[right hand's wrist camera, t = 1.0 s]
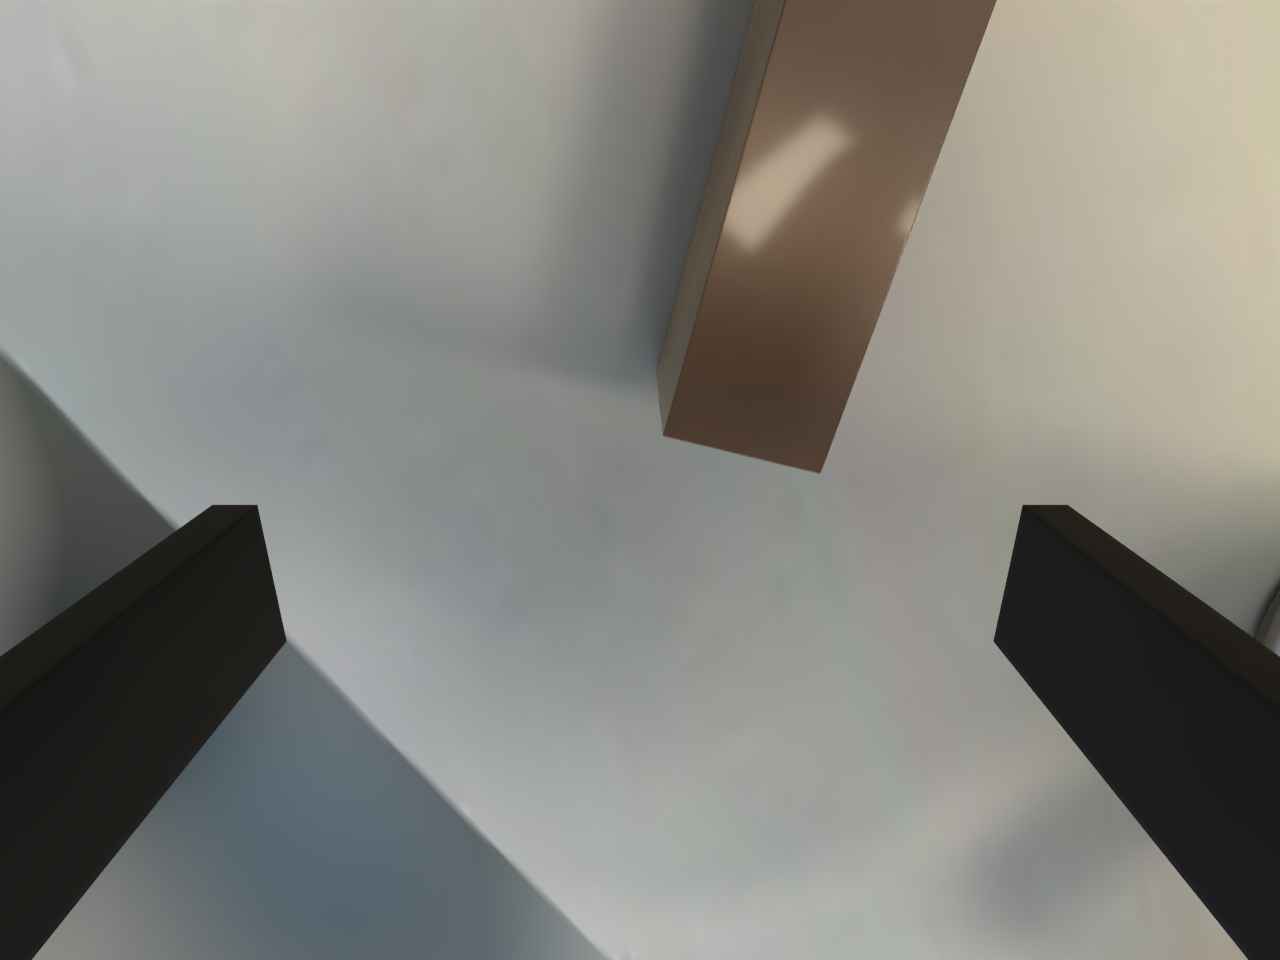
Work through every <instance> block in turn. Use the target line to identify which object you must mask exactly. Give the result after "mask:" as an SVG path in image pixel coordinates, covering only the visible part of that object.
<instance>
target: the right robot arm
mask: <svg viewBox="0 0 1280 960" xmlns="http://www.w3.org/2000/svg"><path fill="white" fill-rule="evenodd" d="M285 642H286V637H285V632H284V628H283V623H282V618H281V614H280V609H279V604H278V600H277V595H276V590H275V586H274V581H273V576H272V572H271V567H270V562H269V558H268V553H267V548H266V544H265V539H264V534H263V530H262V525H261V520H260V516H259V511H258V506H257V505H212V506H210V507H209V508H208V509H206V510H205V511H203V512H202V513H201V514H199V515H198V516H196V517H195V518H194V519H192V520H191V521H189V522H188V523H187V524H185V525H184V526H182V527H181V528H180V529H178V530H177V531H175V532H174V533H173V534H171V535H170V536H168V537H167V538H166V539H164V540H163V541H161V542H160V543H159V544H157V545H156V546H154V547H153V548H152V549H150V550H149V551H147V552H146V553H145V554H143V555H142V556H140V557H139V558H138V559H136V560H135V561H133V562H132V563H131V564H129V565H128V566H127V567H125V568H124V569H122V570H121V571H119V572H118V573H117V574H115V575H114V576H113V577H111V578H110V579H108V580H107V581H105V582H104V583H103V584H101V585H100V586H98V587H97V588H96V589H94V590H93V591H91V592H90V593H89V594H87V595H86V596H85V597H83V598H82V599H80V600H79V601H77V602H76V603H75V604H73V605H72V606H71V607H69V608H68V609H66V610H65V611H63V612H62V613H61V614H59V615H58V616H56V617H55V618H54V619H52V620H51V621H49V622H48V623H47V624H45V625H44V626H42V627H41V628H40V629H38V630H37V631H35V632H34V633H33V634H31V635H30V636H28V637H27V638H26V639H24V640H23V641H21V642H20V643H19V644H17V645H16V646H14V647H13V648H12V649H10V650H9V651H7V652H6V653H5V654H3V655H2V656H1V657H0V960H32V959H33V957H34V956H35V955H36V953H37V952H38V951H39V950H40V949H41V947H42V946H43V945H44V944H45V942H46V941H47V940H48V939H49V937H50V936H51V935H52V934H53V932H54V931H55V930H56V929H57V927H58V926H59V925H60V924H61V922H62V921H63V920H64V919H65V917H66V916H67V915H68V914H69V912H70V911H71V910H72V909H73V907H74V906H75V905H76V904H77V902H78V901H79V900H80V899H81V897H82V896H83V895H84V893H85V892H86V891H87V890H88V889H89V887H90V886H91V885H92V884H93V882H94V881H95V880H96V879H97V877H98V876H99V875H100V874H101V872H102V871H103V870H104V868H105V867H106V866H107V865H108V864H109V862H110V861H111V860H112V858H113V857H114V856H115V855H116V854H117V852H118V851H119V850H120V849H121V847H122V846H123V845H124V844H125V842H126V841H127V840H128V839H129V837H130V836H131V835H132V834H133V832H134V831H135V830H136V829H137V827H138V826H139V825H140V824H141V822H142V821H143V820H144V819H145V817H146V816H147V815H148V814H149V812H150V811H151V810H152V809H153V807H154V806H155V805H156V804H157V802H158V801H159V800H160V799H161V797H162V796H163V795H164V794H165V792H166V791H167V790H168V789H169V787H170V786H171V785H172V784H173V782H174V781H175V780H176V779H177V777H178V776H179V775H180V774H181V772H182V771H183V770H184V769H185V767H186V766H187V765H188V764H189V762H190V761H191V760H192V759H193V757H194V756H195V755H196V754H197V752H198V751H199V750H200V749H201V747H202V746H203V745H204V744H205V742H206V741H207V740H208V739H209V737H210V736H211V735H212V734H213V732H214V731H215V730H216V729H217V727H218V726H219V725H220V724H221V722H222V721H223V720H224V719H225V717H226V716H227V715H228V714H229V712H230V711H231V710H232V709H233V707H234V706H235V705H236V704H237V702H238V701H239V700H240V699H241V697H242V696H243V695H244V694H245V692H246V691H247V690H248V689H249V687H250V686H251V685H252V684H253V682H254V681H255V680H256V679H257V677H258V676H259V675H260V674H261V672H262V671H263V670H264V669H265V667H266V666H267V665H268V664H269V662H270V661H271V660H272V659H273V657H274V656H275V655H276V654H277V652H278V651H279V650H280V649H281V647H282V646H283V645H284V644H285ZM994 642H995V644H996V645H997V646H998V647H999V649H1000V650H1001V651H1002V652H1003V654H1004V655H1005V656H1006V657H1007V659H1008V660H1009V661H1010V662H1011V664H1012V665H1013V666H1014V667H1015V669H1016V670H1017V671H1018V672H1019V674H1020V675H1021V676H1022V677H1023V679H1024V680H1025V681H1026V682H1027V684H1028V685H1029V686H1030V687H1031V689H1032V690H1033V691H1034V692H1035V694H1036V695H1037V696H1038V697H1039V699H1040V700H1041V701H1042V702H1043V704H1044V705H1045V706H1046V707H1047V709H1048V710H1049V711H1050V712H1051V714H1052V715H1053V716H1054V717H1055V719H1056V720H1057V721H1058V722H1059V724H1060V725H1061V726H1062V727H1063V729H1064V730H1065V731H1066V732H1067V734H1068V735H1069V736H1070V737H1071V739H1072V740H1073V741H1074V742H1075V744H1076V745H1077V746H1078V747H1079V749H1080V750H1081V751H1082V752H1083V754H1084V755H1085V756H1086V757H1087V759H1088V760H1089V761H1090V762H1091V764H1092V765H1093V766H1094V767H1095V769H1096V770H1097V771H1098V772H1099V774H1100V775H1101V776H1102V777H1103V779H1104V780H1105V781H1106V782H1107V784H1108V785H1109V786H1110V787H1111V789H1112V790H1113V791H1114V792H1115V794H1116V795H1117V796H1118V797H1119V799H1120V800H1121V801H1122V802H1123V804H1124V805H1125V806H1126V807H1127V809H1128V810H1129V811H1130V812H1131V814H1132V815H1133V816H1134V817H1135V819H1136V820H1137V821H1138V822H1139V824H1140V825H1141V826H1142V827H1143V829H1144V830H1145V831H1146V832H1147V834H1148V835H1149V836H1150V837H1151V839H1152V840H1153V841H1154V842H1155V844H1156V845H1157V846H1158V847H1159V849H1160V850H1161V851H1162V852H1163V854H1164V855H1165V856H1166V857H1167V859H1168V860H1169V861H1170V862H1171V864H1172V865H1173V866H1174V867H1175V869H1176V870H1177V871H1178V872H1179V874H1180V875H1181V876H1182V877H1183V879H1184V880H1185V881H1186V882H1187V884H1188V885H1189V886H1190V887H1191V889H1192V890H1193V891H1194V892H1195V894H1196V895H1197V896H1198V897H1199V899H1200V900H1201V901H1202V902H1203V904H1204V905H1205V906H1206V907H1207V909H1208V910H1209V911H1210V912H1211V914H1212V915H1213V916H1214V917H1215V919H1216V920H1217V921H1218V922H1219V924H1220V925H1221V926H1222V927H1223V929H1224V930H1225V931H1226V932H1227V934H1228V935H1229V936H1230V937H1231V939H1232V940H1233V941H1234V942H1235V944H1236V945H1237V946H1238V947H1239V949H1240V950H1241V951H1242V952H1243V954H1244V955H1245V956H1246V957H1247V959H1248V960H1280V590H1279V591H1278V593H1277V594H1276V596H1275V598H1274V599H1273V601H1272V602H1271V604H1270V606H1269V608H1268V610H1267V612H1266V614H1265V616H1264V618H1263V620H1262V622H1261V625H1260V627H1259V630H1258V632H1257V636H1256V639H1254V638H1253V637H1252V636H1250V635H1249V634H1247V633H1246V632H1245V631H1243V630H1242V629H1240V628H1239V627H1238V626H1236V625H1235V624H1233V623H1232V622H1231V621H1229V620H1228V619H1226V618H1225V617H1224V616H1222V615H1221V614H1219V613H1218V612H1217V611H1215V610H1214V609H1212V608H1211V607H1210V606H1208V605H1207V604H1205V603H1204V602H1203V601H1201V600H1200V599H1198V598H1197V597H1196V596H1194V595H1193V594H1191V593H1190V592H1189V591H1187V590H1186V589H1184V588H1183V587H1182V586H1180V585H1179V584H1177V583H1176V582H1175V581H1173V580H1172V579H1170V578H1169V577H1168V576H1166V575H1165V574H1163V573H1162V572H1161V571H1159V570H1158V569H1156V568H1155V567H1154V566H1152V565H1151V564H1149V563H1148V562H1147V561H1145V560H1144V559H1142V558H1141V557H1140V556H1138V555H1137V554H1135V553H1134V552H1133V551H1131V550H1130V549H1128V548H1127V547H1126V546H1124V545H1123V544H1121V543H1120V542H1119V541H1117V540H1116V539H1114V538H1113V537H1112V536H1110V535H1109V534H1107V533H1106V532H1105V531H1103V530H1102V529H1100V528H1099V527H1098V526H1096V525H1095V524H1093V523H1092V522H1091V521H1089V520H1088V519H1086V518H1085V517H1084V516H1082V515H1081V514H1079V513H1078V512H1077V511H1075V510H1074V509H1072V508H1071V507H1070V506H1068V505H1023V506H1022V511H1021V516H1020V520H1019V525H1018V530H1017V534H1016V539H1015V544H1014V548H1013V553H1012V558H1011V562H1010V567H1009V572H1008V576H1007V581H1006V586H1005V590H1004V595H1003V600H1002V604H1001V609H1000V614H999V618H998V623H997V628H996V632H995V637H994Z"/></svg>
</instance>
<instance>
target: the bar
mask: <svg viewBox="0 0 1280 960" xmlns="http://www.w3.org/2000/svg"><path fill="white" fill-rule="evenodd" d="M996 1H997V0H755V2H754V6H753V10H752V14H751V17H750V21H749V25H748V29H747V32H746V36H745V40H744V44H743V47H742V51H741V55H740V59H739V62H738V66H737V70H736V74H735V77H734V81H733V85H732V89H731V92H730V96H729V100H728V104H727V107H726V111H725V115H724V119H723V123H722V126H721V130H720V134H719V138H718V141H717V145H716V149H715V153H714V156H713V160H712V164H711V168H710V171H709V175H708V179H707V183H706V186H705V190H704V194H703V198H702V201H701V205H700V209H699V213H698V216H697V220H696V224H695V228H694V231H693V235H692V239H691V243H690V247H689V250H688V254H687V258H686V262H685V265H684V269H683V273H682V277H681V280H680V284H679V288H678V292H677V295H676V299H675V303H674V307H673V310H672V314H671V318H670V322H669V325H668V329H667V333H666V337H665V340H664V344H663V348H662V352H661V355H660V359H659V363H658V367H657V371H656V378H657V386H658V395H659V404H660V412H661V421H662V430H663V436H664V437H668V438H672V439H676V440H681V441H685V442H689V443H693V444H697V445H701V446H706V447H710V448H714V449H718V450H722V451H726V452H731V453H735V454H739V455H743V456H747V457H751V458H755V459H760V460H764V461H768V462H772V463H776V464H780V465H785V466H789V467H793V468H797V469H801V470H805V471H810V472H814V473H818V474H820V473H821V470H822V468H823V465H824V462H825V460H826V457H827V454H828V451H829V449H830V446H831V443H832V441H833V438H834V435H835V433H836V430H837V427H838V425H839V422H840V419H841V417H842V414H843V411H844V409H845V406H846V403H847V400H848V398H849V395H850V392H851V390H852V387H853V384H854V382H855V379H856V376H857V374H858V371H859V368H860V366H861V363H862V360H863V358H864V355H865V352H866V349H867V347H868V344H869V341H870V339H871V336H872V333H873V331H874V328H875V325H876V323H877V320H878V317H879V315H880V312H881V309H882V307H883V304H884V301H885V298H886V296H887V293H888V290H889V288H890V285H891V282H892V280H893V277H894V274H895V272H896V269H897V266H898V264H899V261H900V258H901V256H902V253H903V250H904V247H905V245H906V242H907V239H908V237H909V234H910V231H911V229H912V226H913V223H914V221H915V218H916V215H917V213H918V210H919V207H920V205H921V202H922V199H923V196H924V194H925V191H926V188H927V186H928V183H929V180H930V178H931V175H932V172H933V170H934V167H935V164H936V162H937V159H938V156H939V154H940V151H941V148H942V145H943V143H944V140H945V137H946V135H947V132H948V129H949V127H950V124H951V121H952V119H953V116H954V113H955V111H956V108H957V105H958V103H959V100H960V97H961V94H962V92H963V89H964V86H965V84H966V81H967V78H968V76H969V73H970V70H971V68H972V65H973V62H974V60H975V57H976V54H977V52H978V49H979V46H980V43H981V41H982V38H983V35H984V33H985V30H986V27H987V25H988V22H989V19H990V17H991V14H992V11H993V9H994V6H995V3H996Z"/></svg>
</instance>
